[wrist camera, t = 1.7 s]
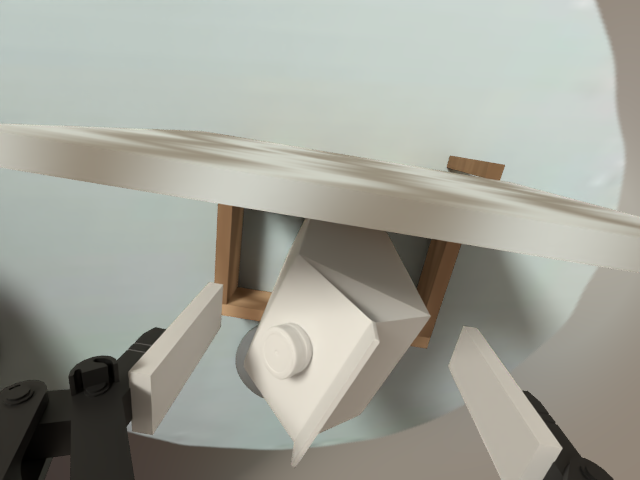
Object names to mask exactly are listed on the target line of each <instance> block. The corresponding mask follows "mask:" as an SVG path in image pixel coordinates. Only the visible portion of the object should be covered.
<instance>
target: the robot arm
mask: <svg viewBox="0 0 640 480" xmlns="http://www.w3.org/2000/svg"><path fill="white" fill-rule="evenodd" d="M222 296H223V284H218V283H212V282H209V283H208V284H207V285H206V286H205V287H204V288H203V290H202V291H201V292H200V293H199V294H198V295H197V296H196V297H195V298H194V300H193V301H192V302H191V303H190V304H189V305H188V306H187V307H186V308H185V309H184V311H183V312H182V313H181V314H180V315H179V316H178V317H177V318H176V319H175V321H174V322H173V323H172V324H171V325H170V326H169V327H168V328H167V329H162V328H156V327H155V328H153V329H151V330H149V331H148V332H146V333H144V334H143V335H142V336H141V337H140V338H139V339H138V340H137V341H136V342H135V344H133V345H132V346H131V347H130V348H129V349H128V350H127V351H126V352H125V353H124V354H123V355H122V356H121V357H120V358H119V359H118V360H117V361H116V359H115V358H113V357H111V356H96V357H92V358H89V359H86V360H84V361H82V362H80V363H79V364H77V365H76V366H75V367H74V368H73V369H72V370H71V371H70V374H69V376H68V377H69V384H70V389H68V390H57V391H47V386H46V385H45V384H44V382H41V381H38V380H28V381H23V382H19V383H16V384H14V385H11V386H9V387H7V388H5V389H4V390H2V391H1V392H0V480H44V479H45V476H46V474H47V471H48V469H49V466H50V464H51V461H52V458H53V457H58V456H65V455H71V468H70V476H71V477H70V480H134V474H133V467H132V461H131V454H130V447H129V441H128V434H127V425H128V424H129V423H130V421H132V431H133V432H139V433H144V434H150V435H153V434H154V432H155V431H156V429H157V427H158V426H159V424H160V423H161V421H162V420H163V418H164V416H165V415H166V413H167V412H168V410H169V408H170V407H171V405H172V404H173V402H174V400H175V399H176V397H177V396H178V394H179V393H180V391H181V389H182V388H183V386H184V385H185V383H186V381H187V380H188V378H189V377H190V375H191V373H192V372H193V370H194V369H195V367H196V366H197V364H198V362H199V361H200V359H201V358H202V356H203V354H204V353H205V351H206V350H207V348H208V347H209V345H210V343H211V342H212V340H213V339H214V337H215V335H216V334H217V332H218V331H219V329H220V327H221V314H222ZM448 367H449V369H450V372H451V374H452V376H453V378H454V380H455V382H456V384H457V387H458V389H459V391H460V393H461V395H462V397H463V400H464V402H465V404H466V406H467V408H468V410H469V412H470V415H471V417H472V419H473V421H474V423H475V425H476V427H477V430H478V432H479V434H480V436H481V438H482V440H483V442H484V445H485V447H486V449H487V451H488V453H489V455H490V457H491V460H492V462H493V464H494V466H495V468H496V470H497V473H498V475H499V477H500V479H501V480H613V478H612V477H611V476H610V475H609V474H608V473H607V472H606V471H605V470H603V469H602V468H601V467H599V466H598V465H597V464H595V463H593V462H591V461H590V460H588V459H585V458H582V457H581V456H580V455H579V453H578V452H577V450H576V449H575V448H574V447H573V445H572V444H571V442H570V441H569V440H568V438H567V437H566V436H565V434H564V433H563V432H562V430H561V429H560V428H559V426H558V425H556V424H555V421H554V420H553V419H552V417H551V416H550V415H549V413H548V412H547V410H546V409H545V408H544V406H543V405H542V404H541V402H540V401H538V400H537V399H536V398H535V397H534V396H533V395H531V393H529V392H528V391H522V390H521V389H520V388H519V386H518V385H517V383H516V382H515V381H514V379H513V378H512V376H511V375H510V373H509V372H508V371H507V369H506V368H505V366H504V365H503V364H502V362H501V361H500V359H499V358H498V357H497V355H496V354H495V352H494V351H493V349H492V348H491V347H490V345H489V344H488V342H487V341H486V340H485V338H484V337H483V335H482V334H481V333H480V331H479V330H478V328H473V327H468V326H463V328H462V330H461V333H460V336H459V339H458V341H457V344H456V347H455V349H454V352H453V355H452V357H451V360H450V363H449V366H448Z"/></svg>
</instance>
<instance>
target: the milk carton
mask: <svg viewBox="0 0 640 480" xmlns="http://www.w3.org/2000/svg"><path fill="white" fill-rule="evenodd" d="M430 317H431V315H430V314H429V312H428V310H427V308H426V306H425V304H424V303H423V301H422V299H421V297H420V295H419V293H418V291H417V289H416V287H415V285H414V283H413V282H412V280H411V278H410V276H409V274H408V272H407V270H406V268H405V266H404V264H403V262H402V261H401V259H400V257H399V255H398V253H397V251H396V249H395V247H394V245H393V243H392V241H391V240H390V238H389V236H388V234H387V232H386V231H382V230H376V229H370V228H364V227H358V226H352V225H346V224H340V223H333V222H327V221H321V220H315V219H309V218H305V220H304V222H303V224H302V226H301V228H300V230H299V232H298V234H297V236H296V238H295V240H294V242H293V244H292V246H291V249H290V251H289V253H288V255H287V257H286V260H285V262H284V264H283V267H282V269H281V272H280V274H279V277H278V279H277V281H276V284H275V286H274V289H273V291H272V294H271V296H270V298H269V301H268V303H267V306H266V308H265V311H264V313H263V315H262V318H261V320H260V323H259V325H258V328H257V330H256V332H255V335H254V337H253V340H252V342H251V345H250V347H249V350H248V352H247V355H246V357H245V360H244V368H245V370H246V371H247V373H248V374H249V376H250V377H251V379H252V380H253V382H254V383H255V385H256V386H257V388H258V389H259V391H260V392H261V394H262V395H263V397H264V398H265V400H266V401H267V403H268V404H269V406H270V407H271V409H272V410H273V412H274V413H275V415H276V416H277V418H278V419H279V421H280V422H281V424H282V425H283V427H284V428H285V430H286V431H287V433H288V434H289V436H290V437H291V439H292V440H293V442H294V447H293V454H292V461H291V466H292V467H296V466H297V464H298V463H299V461H300V460H301V458H302V457H303V455H304V454H305V452H306V451H307V449H308V448H309V446H310V445H311V443H312V442H313V440H314V439H315V437H316V436H317V435H318V434H319V433H321V432H323V431H326V430H328V429H330V428H332V427H334V426H336V425H339V424H341V423H343V422H345V421H347V420H350V419H352V418H354V417H356V416H358V415H360V414H361V413H362V412H363V410H364V409H365V408H366V406H367V405H368V403H369V402H370V401H371V399H372V398H373V397H374V395H375V394H376V392H377V391H378V390H379V388H380V387H381V385H382V384H383V383H384V381H385V380H386V378H387V377H388V376H389V374H390V373H391V372H392V370H393V369H394V367H395V366H396V365H397V363H398V362H399V360H400V359H401V358H402V356H403V355H404V353H405V352H406V351H407V349H408V348H409V347H410V345H411V344H412V342H413V341H414V340H415V338H416V337H417V335H418V334H419V333H420V331H421V330H422V328H423V327H424V326H425V324H426V323H427V321H428V320H429V318H430Z"/></svg>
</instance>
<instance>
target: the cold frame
mask: <svg viewBox="0 0 640 480" xmlns="http://www.w3.org/2000/svg"><path fill="white" fill-rule="evenodd" d="M0 167H1V168H7V169H13V170H19V171H25V172H31V173H37V174H43V175H49V176H55V177H61V178H67V179H73V180H79V181H85V182H91V183H97V184H104V185H110V186H116V187H122V188H128V189H134V190H140V191H146V192H152V193H158V194H164V195H170V196H176V197H182V198H188V199H194V200H200V201H206V202H212V203H218V217H217V238H216V260H215V282H214V283H218V284H223V296H222V314H221V315H225V316H231V317H237V318H243V319H249V320H256V321H260V320H261V318H262V315H263V313H264V311H265V308H266V306H267V303H268V301H269V298H270V296H271V294H272V292H266V291H260V290H254V289H248V288H242V287H238V279H239V265H240V252H241V239H242V225H243V212H244V208H249V209H255V210H261V211H267V212H273V213H279V214H285V215H291V216H297V217H303V218H309V219H315V220H321V221H327V222H333V223H340V224H346V225H352V226H358V227H364V228H370V229H376V230H382V231H388V232H394V233H400V234H406V235H412V236H418V237H424V238H430V239H431V242H430V245H429V249H428V252H427V256H426V259H425V262H424V266H423V269H422V273H421V276H420V279H419V283H418V286H417V291H418V293H419V295H420V297H421V299H422V301H423V303H424V304H425V306H426V308H427V310H428V312H429V314H430V315H431V317H430V318H429V320H428V321H427V323H426V324H425V326H424V327H423V328H422V330H421V331H420V333H419V334H418V335H417V337H416V338H415V340H414V341H413V342H412V344H411V345H410V346H414V347H420V348H426V349H427V346H428V343H429V340H430V337H431V334H432V331H433V328H434V325H435V322H436V319H437V316H438V313H439V310H440V307H441V304H442V301H443V298H444V295H445V292H446V289H447V286H448V283H449V280H450V277H451V274H452V271H453V268H454V265H455V262H456V259H457V256H458V253H459V250H460V247H461V244H467V245H473V246H479V247H485V248H491V249H497V250H503V251H509V252H515V253H521V254H527V255H533V256H539V257H545V258H551V259H557V260H563V261H569V262H576V263H582V264H588V265H594V266H600V267H606V268H612V269H618V270H624V271H630V272H636V273H640V217H639V216H635V215H631V214H627V213H624V212H620V211H616V210H612V209H609V208H605V207H601V206H597V205H594V204H590V203H586V202H582V201H578V200H575V199H571V198H567V197H563V196H560V195H556V194H552V193H548V192H545V191H541V190H537V189H533V188H530V187H526V186H522V185H518V184H515V183H511V182H506V181H500V178H501V175H502V173H503V170H504V167H505V165H502V164H496V163H490V162H484V161H479V160H473V159H467V158H461V157H455V156H450V157H449V161H448V164H447V168H451V169H454V170H458V171H461V172H465V173H468V174H472V175H475V176H470V175H464V174H458V173H452V172H446V171H440V170H434V169H428V168H422V167H416V166H410V165H404V164H398V163H392V162H385V161H379V160H373V159H367V158H361V157H355V156H349V155H343V154H337V153H331V152H325V151H319V150H313V149H307V148H301V147H295V146H289V145H283V144H277V143H271V142H265V141H259V140H253V139H247V138H241V137H235V136H229V135H223V134H217V133H211V132H205V131H185V130H159V129H132V128H105V127H78V126H51V125H24V124H0ZM476 176H479V177H476Z"/></svg>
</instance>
